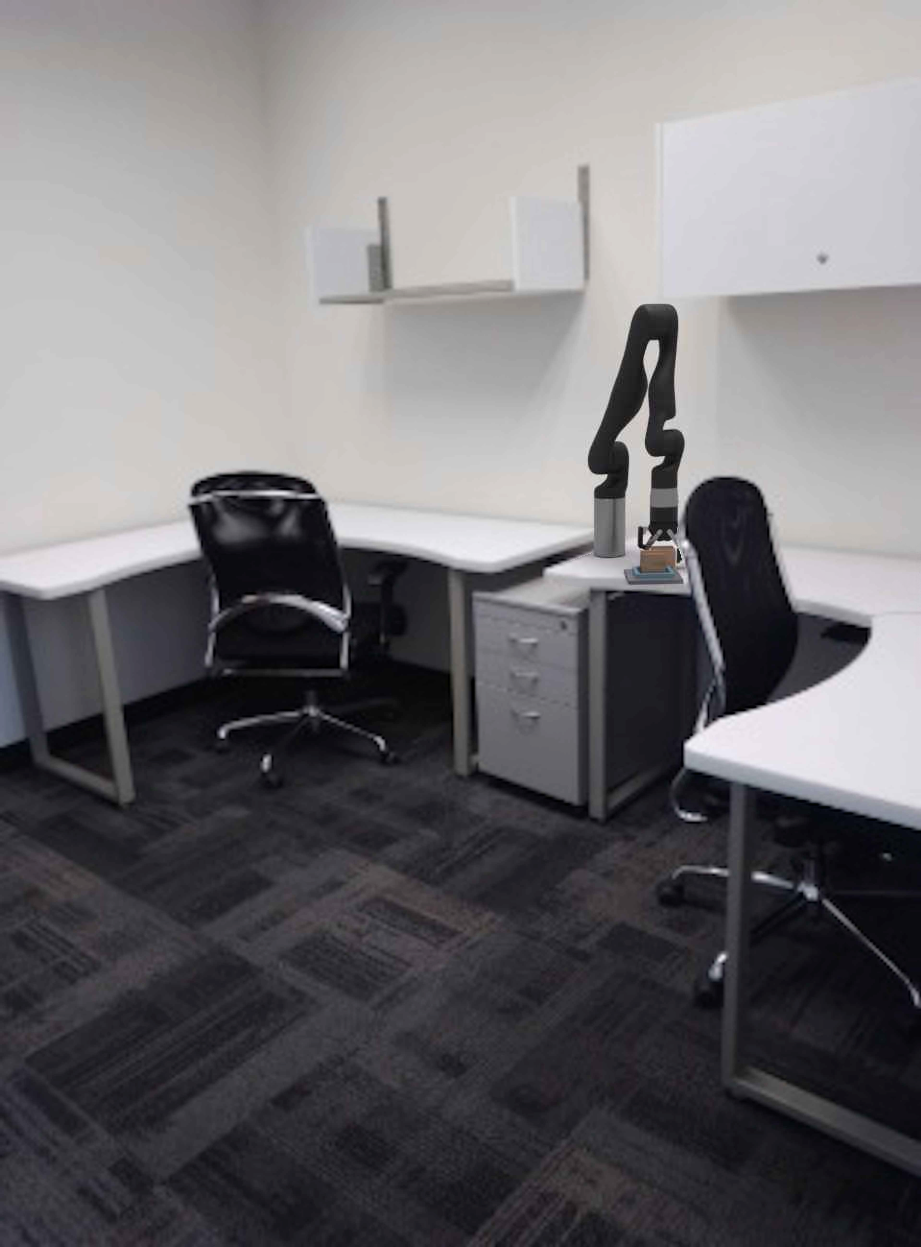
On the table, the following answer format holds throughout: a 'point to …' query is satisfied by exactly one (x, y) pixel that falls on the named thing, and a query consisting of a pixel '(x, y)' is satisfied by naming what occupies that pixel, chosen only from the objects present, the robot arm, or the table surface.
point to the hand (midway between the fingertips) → (663, 562)
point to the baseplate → (652, 576)
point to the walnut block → (652, 561)
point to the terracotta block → (667, 554)
